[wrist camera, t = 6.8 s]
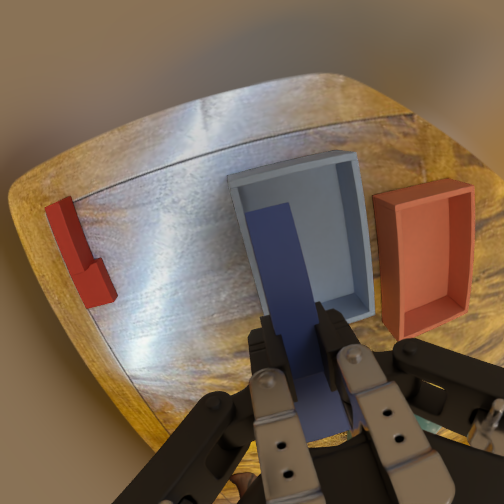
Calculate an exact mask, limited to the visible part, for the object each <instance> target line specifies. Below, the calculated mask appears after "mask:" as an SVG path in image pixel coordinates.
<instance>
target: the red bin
mask: <svg viewBox="0 0 504 504" xmlns="http://www.w3.org/2000/svg"><path fill="white" fill-rule="evenodd" d="M372 197H373V205H374V212H375V221H376V229H377V239H378V250H379V262H380V276H381V295H382V322H383V323H384V325H385V326H386V327H387V329H388V330H389V331H390V332H391V334H392V335H393V336H394V338H395V339H396V340H397V341H400V340H402V339H406V338H413V337H416V336H418V335H421V334H423V333H425V332H427V331H430V330H432V329H434V328H436V327H439V326H441V325H443V324H445V323H447V322H449V321H451V320H453V319H455V318H458V317H460V316H462V315H464V314H466V313H467V312H468V307H469V300H470V292H471V284H472V274H473V261H474V243H475V192H474V185H471V184H467V183H464V182H460V181H456V180H453V179H449V178H447V179H442V180H438V181H433V182H429V183H424V184H420V185H415V186H411V187H407V188H402V189H398V190H394V191H389V192H385V193H381V194H377V195H373V196H372Z"/></svg>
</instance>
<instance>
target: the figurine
mask: <svg viewBox="0 0 504 504" xmlns="http://www.w3.org/2000/svg"><path fill="white" fill-rule="evenodd" d="M256 478H257V477H256V475H254V474H252V473H241V474H235V475H233V476H231V477H230V478H229V480H230V481H232V483H234V484H235V485H236V486H237V488H238V491H239V495H240V499H241V497H242V496H243V494H244V493H245V492H246V490H247V489H248V488H249V486H250V485H251V483H252V482H253V481H254V480H255V479H256Z"/></svg>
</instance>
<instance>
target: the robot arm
mask: <svg viewBox="0 0 504 504" xmlns="http://www.w3.org/2000/svg"><path fill="white" fill-rule="evenodd" d="M315 305H316V310H317V314H318V318H319V324H315V325H314V326H315V330H316V335H317V339H318V344H319V348H320V353H321V357H322V362H323V367H324V375H325V377H326V380H327V382H328V385H329V387H330V390H331V392H333V391H337V390H338V392H339V394H340V403H341V406H342V409H343V412H344V415H345V418H346V420H347V423H348V426H349V429H350V432H351V435H352V438H351V439H349V440H347V441H346V442H344V443H342V444H340V445H338V446H331V447H318V448H308V446H307V443H306V439H305V436H304V433H303V430H302V427H301V423H300V420H299V417H298V414H297V411H296V409H295V406H294V402H298V399H297V395H296V390H295V386H294V382H293V377H292V373H291V369H290V365H289V361H288V357H287V354H286V350H285V346H284V343H283V339H282V336H281V334H280V335H275V332H274V328H273V325H272V321H271V318H270V315H266V316H262V317H260V320H261V325H262V328H258V329H254V330H251V332H250V334H249V336H248V345H249V354H250V362H251V371H252V377H251V378H250V380H249V385H248V386H247V387H246V388H245V389H243V390H242V391H240V392H238V393H236V394H233V395H231V396H230V395H229V394H228V393H226V392H222V391H215V392H211V393H208V394H206V395H205V396H203V397H202V398H201V399H200V400H199V401H198V402H197V404H196V405H195V406H194V408H193V409H192V410H191V411H190V412H189V414H188V415H187V416H186V417H185V419H184V420H183V421H182V422H181V424H180V425H179V426H178V427H177V429H176V430H175V431H174V432H173V433H172V435H171V436H170V437H169V438H168V439H167V441H166V442H165V443H164V444H163V445H162V447H161V448H160V449H159V450H158V451H157V453H156V454H155V455H154V456H153V457H152V458H151V460H150V461H149V462H148V463H147V464H146V466H145V467H144V468H143V469H142V470H141V471H140V472H139V474H138V475H137V476H136V477H135V478H134V480H132V482H131V483H130V484H129V485H128V486H127V487H126V488H125V490H124V491H123V492H122V493H121V494H120V495H119V496H118V497H117V498H116V499H115V501H114V502H113V503H112V504H212V503H213V502H214V500H215V499H216V498H217V496H218V495H219V493H220V492H221V490H222V489H223V487H224V486H225V484H226V483H227V481H228V480H229V478H230V477H231V475H232V474H233V472H234V471H235V469H236V467H237V466H238V464H239V463H240V461H241V460H242V458H243V456H244V455H245V453H246V452H247V450H248V448H249V446H250V444H251V442H252V441H254V440H256V446H257V452H258V458H259V463H260V469H261V474H260V475H259V476H258V477H257V478H256V479H255V480H254V481H253V482H252V483H251V485H250V486H249V488H248V489H247V490H246V492H245V493H244V494H243V496H242V497H241V499H240V500H239V501H238V503H237V504H504V368H502V367H499V366H496V365H493V364H490V363H487V362H484V361H481V360H478V359H475V358H472V357H469V356H466V355H463V354H460V353H457V352H454V351H451V350H448V349H445V348H442V347H439V346H437V345H434V344H431V343H428V342H425V341H422V340H419V339H416V338H406V339H402V340H400V341H398V342H397V343H396V344H395V345H394V347H393V351H384V352H374V351H371V350H370V348H368V347H367V346H365V345H362V344H360V342H359V340H358V339H357V337H356V335H355V334H354V332H353V331H352V329H351V327H350V326H349V324H348V323H347V321H346V320H345V318H344V316H343V315H342V313H341V312H339V311H337V310H336V309H334V308H332V309H329V310H325V309H324V307H323V306H322V304H321V302H320V301H318V302H315ZM422 380H425V381H427V382H430V383H432V384H435V385H437V386H440V387H442V388H443V389H444V390H443V389H441V388H438V387H436V386H433V385H431V384H429V383H426V382H424V381H422ZM414 414H415V415H417V416H419V417H422V418H424V419H426V420H428V421H430V422H433V423H435V424H437V425H439V426H442V427H444V428H446V429H449V430H451V431H453V432H456V433H458V434H460V435H463V436H465V437H467V440H468V443H469V444H470V446H468V445H465V444H462V443H459V442H456V441H453V440H450V439H447V438H445V437H442V436H439V435H436V434H434V433H431V432H428V431H426V430H423V429H421V427H420V425H419V423H418V421H417V419H416V417H415V416H414Z"/></svg>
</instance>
